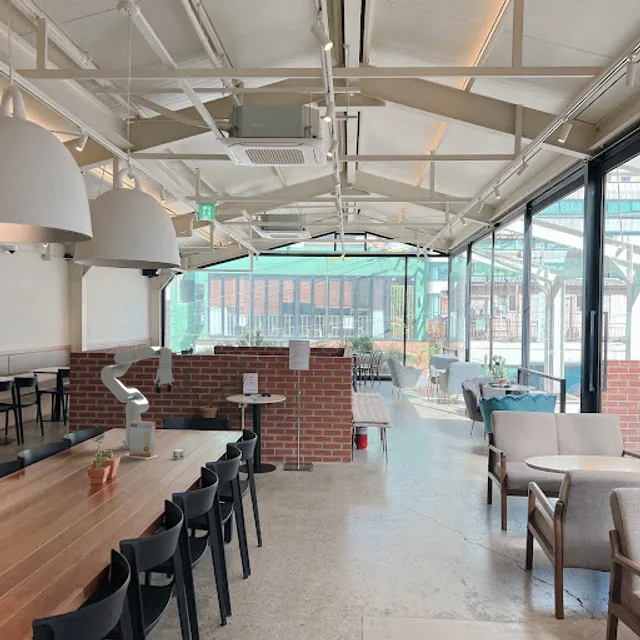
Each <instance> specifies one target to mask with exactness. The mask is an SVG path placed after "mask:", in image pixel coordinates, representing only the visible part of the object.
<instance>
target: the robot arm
mask: <svg viewBox="0 0 640 640" xmlns="http://www.w3.org/2000/svg"><path fill="white" fill-rule="evenodd" d="M172 353H173V350H172V348H171V347H170V346H159V345H153V346H152V345H151V346H144V347H139V348H133V349H127V350H122V351H118V352H116V353H115V354H114V357H113V360H114V362H115V363H116V364H110V365H105V366H104V367H103V368H102V369H101V371H100V379H101V382H102V383H103V384H104V386H105V387H106V388H107V389H109V391H110V392H111V394H113V395H114V396H115V397H116V399H117V400H118V401H119V402H121V403H126V405H125V416H126V421H125V422H126V423H125V439H123V440H122V441H121V444H123V445H122V449H124V450H128V451H129V449H130V428H131V422H132V421H142V417H141V414H143V413H145V412H147V411H148V410H149V408H150V403H149V400H147V398H146V397H145V396H144V395H143V394H142V393H141V392H140V391H139V390H138V389H137V388H135V387H132V386H130V387H128V386H127V387H126V386H125V385H124V384H123V383H122V381H120V380H119V379H117V378H120V377H122V376H124V375H125V374H126V372H127V371H128V370H129V368H130V367H131V366H132V364H133V363H137V362H139V361H140V360H141V361H142V360H146V359H147V360H148V359H152V358H159V361H158V368H157V371H156V376H155V379H154V380H153V383H154V387H155V393H156V394H161V385H165V384H166V385H167V386H166V387H167V388H166V392H167V393H172V387H173V385H174V384H175V383H174V382H175V378H174V377H173V373H172V366H173V365H172Z"/></svg>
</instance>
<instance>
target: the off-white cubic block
mask: <svg viewBox="0 0 640 640" xmlns="http://www.w3.org/2000/svg"><path fill="white" fill-rule="evenodd" d="M172 459H174V460H178V461H179V460H183V459H185V450H184V449H179V448H178V449H173V450H172Z"/></svg>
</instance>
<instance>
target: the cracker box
mask: <svg viewBox="0 0 640 640" xmlns="http://www.w3.org/2000/svg"><path fill="white" fill-rule="evenodd" d="M155 441H156V421H148V420H147V421H144V420H141V421H132V422H131V428H130V449H129V450H128V451H129V452H128V454H129V455H132V456H146V457H151V456H153V455H155V446H156V445H155Z"/></svg>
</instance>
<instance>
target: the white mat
mask: <svg viewBox="0 0 640 640" xmlns="http://www.w3.org/2000/svg"><path fill="white" fill-rule="evenodd" d="M123 456H124V457H129V458H134V459H139V460H144V461H149V460H153V459H158V458H160V455H156V454H154V455H153V456H151V457H146V456H132V455H129V453H126V454H123Z"/></svg>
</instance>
